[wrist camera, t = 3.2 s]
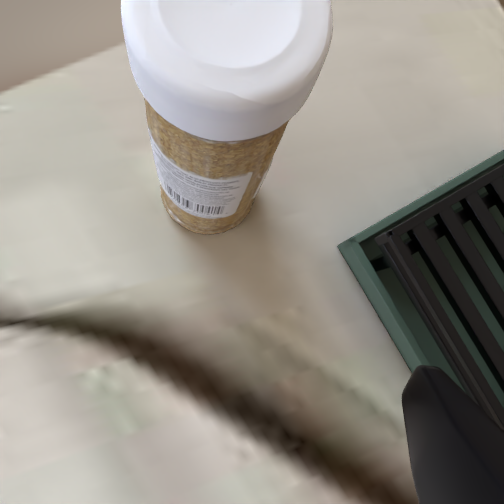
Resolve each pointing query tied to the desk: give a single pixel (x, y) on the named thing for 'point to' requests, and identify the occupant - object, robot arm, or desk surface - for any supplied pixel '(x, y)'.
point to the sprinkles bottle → (221, 94)
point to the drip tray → (396, 299)
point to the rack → (456, 280)
